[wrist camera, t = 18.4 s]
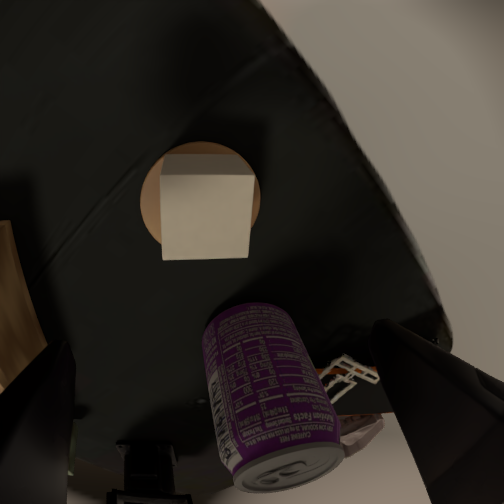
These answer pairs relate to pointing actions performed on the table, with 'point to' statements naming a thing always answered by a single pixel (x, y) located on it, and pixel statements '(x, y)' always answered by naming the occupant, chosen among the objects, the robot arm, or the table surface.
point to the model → (347, 374)
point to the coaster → (152, 184)
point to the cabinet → (15, 313)
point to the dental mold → (359, 431)
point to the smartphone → (357, 394)
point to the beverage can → (268, 401)
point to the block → (205, 206)
